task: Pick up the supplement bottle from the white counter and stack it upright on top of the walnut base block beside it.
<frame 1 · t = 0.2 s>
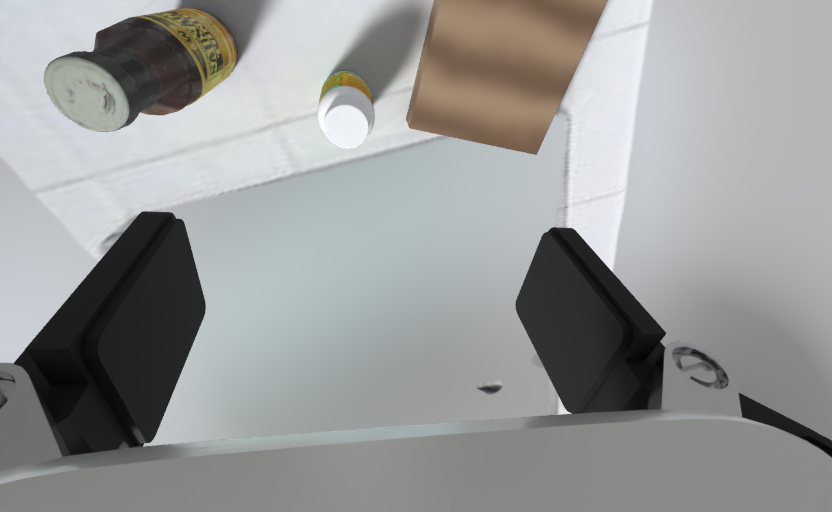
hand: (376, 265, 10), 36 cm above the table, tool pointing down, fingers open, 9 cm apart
sauce bottle: (204, 42, 36), on the table
supplement bottle: (346, 96, 41), on the table
walnut base: (493, 62, 41), on the table
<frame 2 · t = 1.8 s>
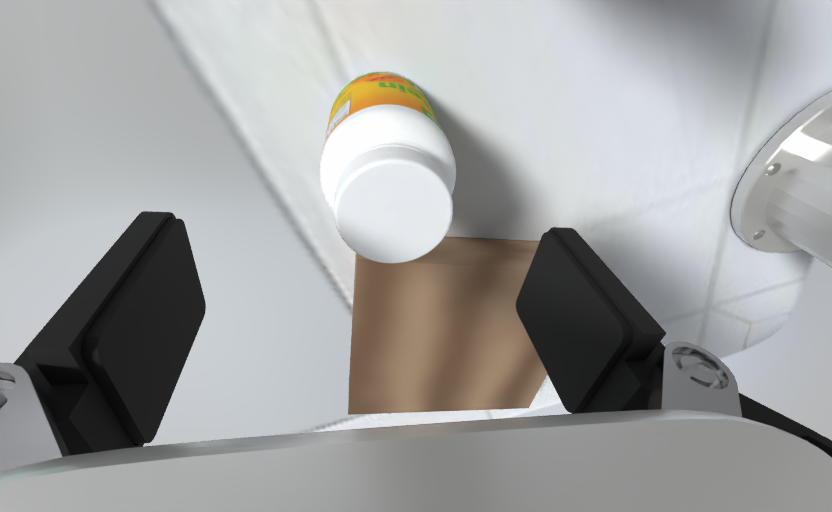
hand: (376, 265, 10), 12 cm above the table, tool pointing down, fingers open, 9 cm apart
supplement bottle: (381, 122, 20), on the table
walnut base: (453, 320, 30), on the table
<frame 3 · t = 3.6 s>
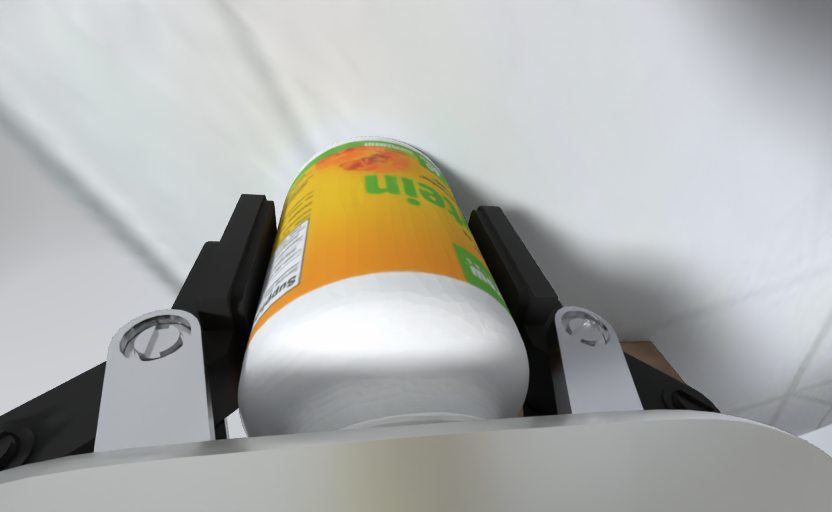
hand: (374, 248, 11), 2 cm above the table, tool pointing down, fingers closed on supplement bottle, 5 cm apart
supplement bottle: (370, 209, 13), on the table, touching gripper
walnut base: (471, 433, 23), on the table
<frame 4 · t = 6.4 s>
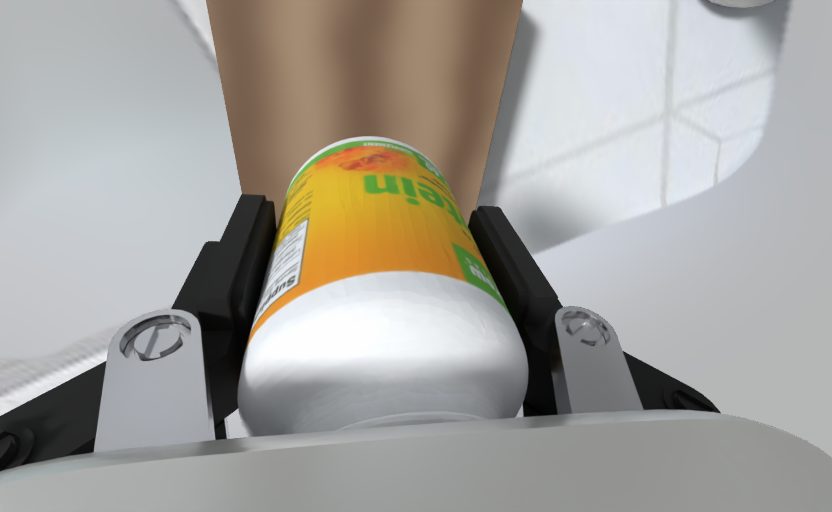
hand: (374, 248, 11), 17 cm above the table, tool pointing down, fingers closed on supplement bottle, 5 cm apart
supplement bottle: (369, 209, 13), point 15 cm above the table, touching gripper
walnut base: (366, 119, 26), on the table
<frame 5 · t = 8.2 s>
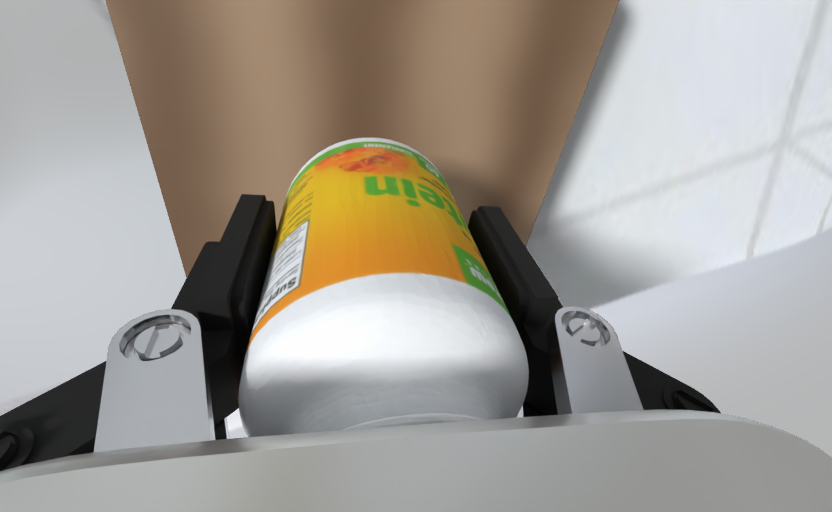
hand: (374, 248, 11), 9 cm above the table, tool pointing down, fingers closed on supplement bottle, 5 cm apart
supplement bottle: (370, 210, 13), point 6 cm above the table, touching gripper
walnut base: (368, 139, 17), on the table
when the fingers open (6 cm above the table, at t = 9.5 s): supplement bottle drops 1 cm, resting on walnut base.
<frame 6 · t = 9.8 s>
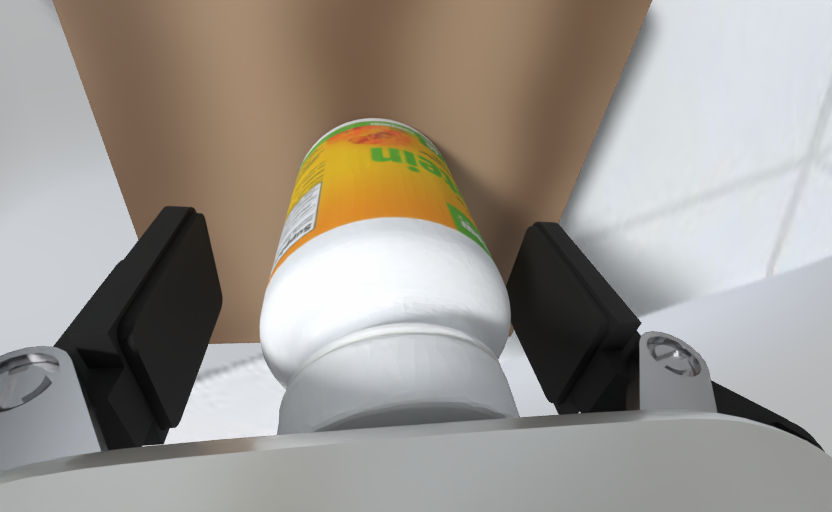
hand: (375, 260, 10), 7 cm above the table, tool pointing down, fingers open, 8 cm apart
supplement bottle: (374, 188, 14), point 3 cm above the table, touching walnut base
walnut base: (365, 159, 16), on the table
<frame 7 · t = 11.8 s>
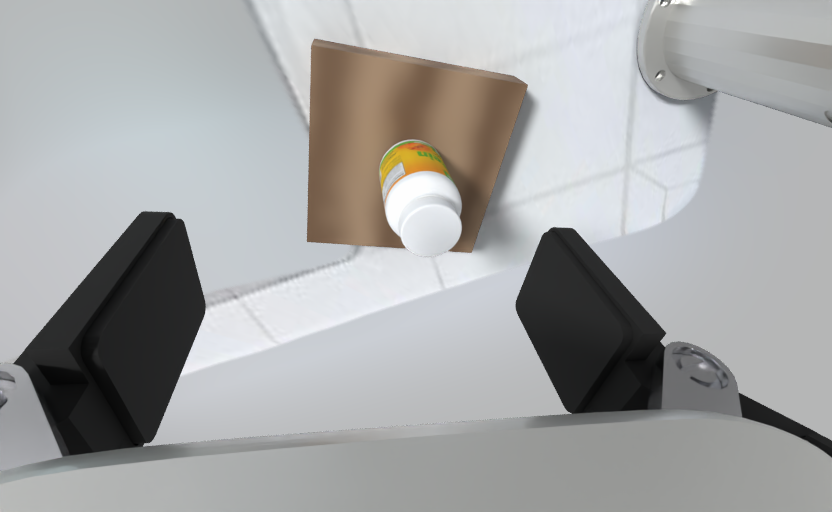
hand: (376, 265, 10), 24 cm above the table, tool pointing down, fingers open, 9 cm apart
supplement bottle: (410, 168, 32), point 3 cm above the table, touching walnut base
walnut base: (403, 156, 34), on the table
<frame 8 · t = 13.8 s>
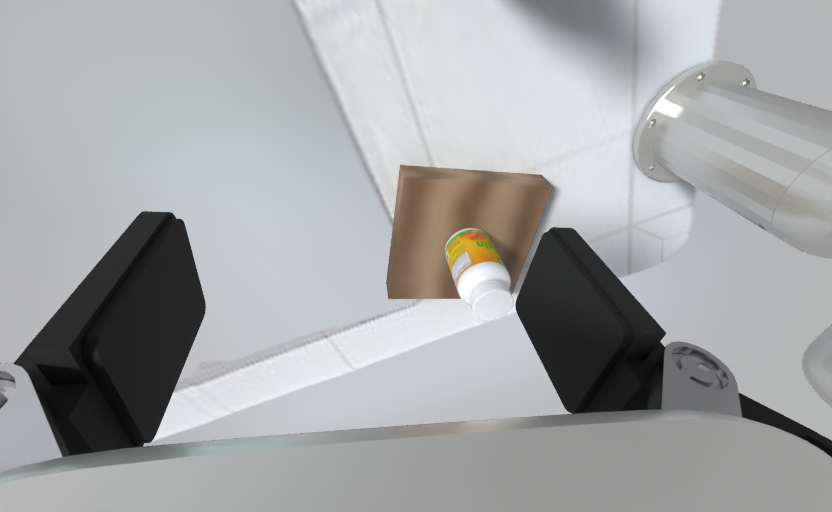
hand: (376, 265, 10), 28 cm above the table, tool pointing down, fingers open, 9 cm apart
supplement bottle: (466, 245, 43), point 3 cm above the table, touching walnut base
walnut base: (458, 232, 45), on the table
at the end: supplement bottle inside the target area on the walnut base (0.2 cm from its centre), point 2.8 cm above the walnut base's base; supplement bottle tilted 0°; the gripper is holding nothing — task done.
